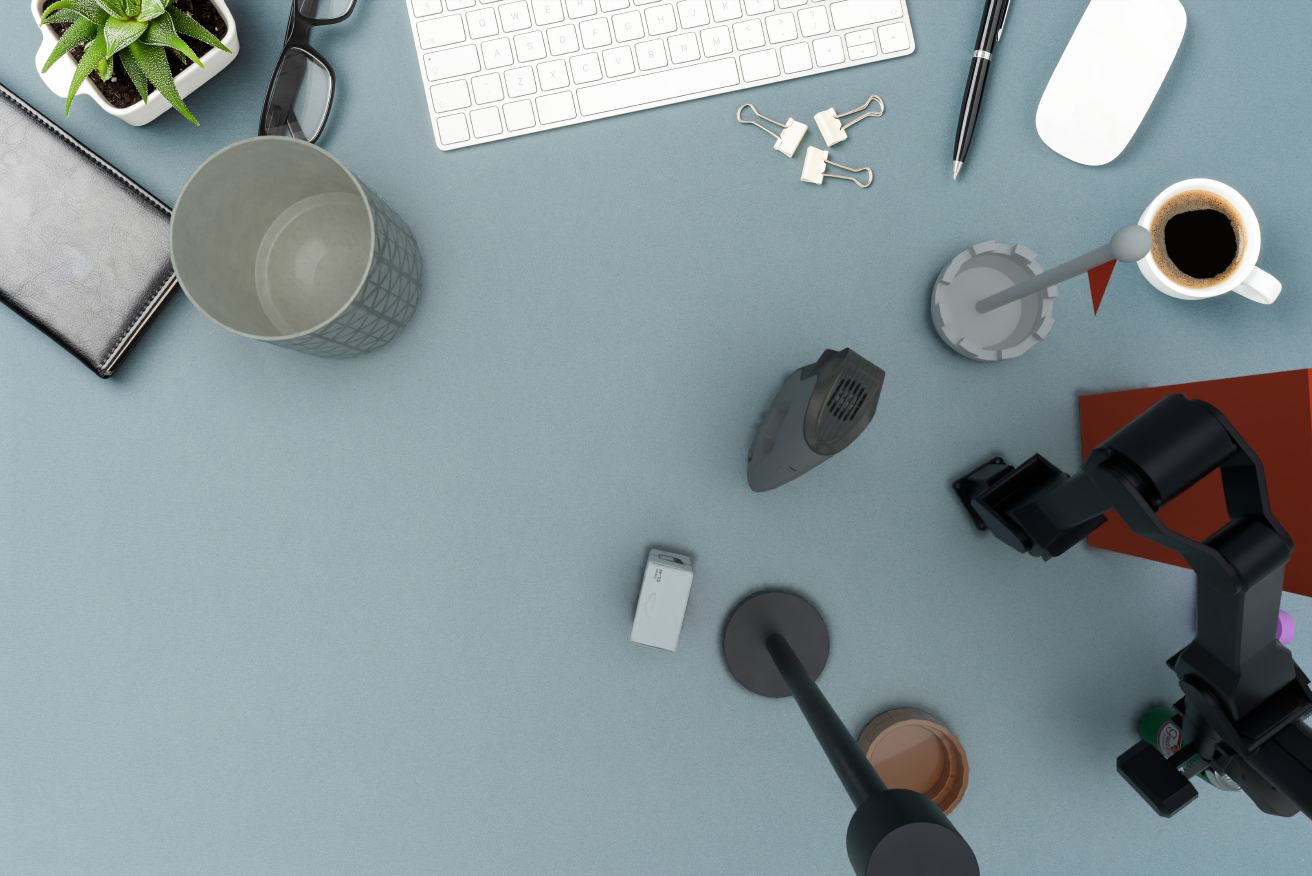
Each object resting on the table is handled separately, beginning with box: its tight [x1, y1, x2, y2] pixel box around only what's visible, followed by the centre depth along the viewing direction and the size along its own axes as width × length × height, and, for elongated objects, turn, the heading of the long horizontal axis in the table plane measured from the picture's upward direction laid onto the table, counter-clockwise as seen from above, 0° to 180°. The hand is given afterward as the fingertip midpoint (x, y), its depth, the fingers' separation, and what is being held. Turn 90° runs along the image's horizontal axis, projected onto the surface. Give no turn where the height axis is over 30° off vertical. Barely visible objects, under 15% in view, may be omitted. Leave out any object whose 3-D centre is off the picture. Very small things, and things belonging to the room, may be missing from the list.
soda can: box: [1138, 706, 1244, 793], centre depth 83 cm, size 5×5×12 cm
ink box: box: [629, 548, 694, 653], centre depth 83 cm, size 9×5×12 cm, turn 167°
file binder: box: [1078, 367, 1312, 598], centre depth 73 cm, size 8×17×32 cm, turn 3°
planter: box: [168, 135, 424, 360], centre depth 80 cm, size 19×19×18 cm
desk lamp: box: [722, 589, 981, 876], centre depth 64 cm, size 12×12×49 cm
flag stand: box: [930, 224, 1153, 363], centre depth 74 cm, size 13×13×30 cm
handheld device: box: [746, 346, 886, 493], centre depth 77 cm, size 6×15×25 cm, turn 147°
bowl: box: [856, 707, 970, 817], centre depth 87 cm, size 12×12×4 cm
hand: (1206, 760), depth 82 cm, fingers open, 9 cm apart
